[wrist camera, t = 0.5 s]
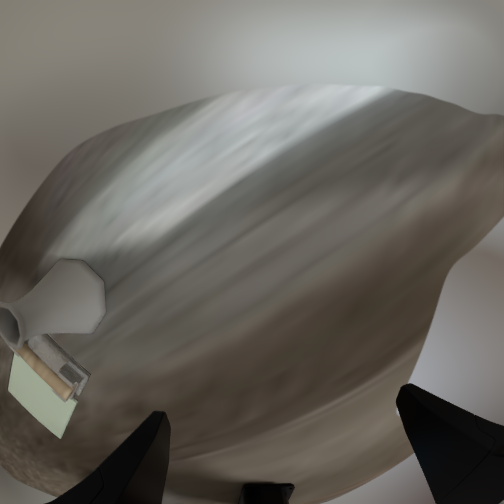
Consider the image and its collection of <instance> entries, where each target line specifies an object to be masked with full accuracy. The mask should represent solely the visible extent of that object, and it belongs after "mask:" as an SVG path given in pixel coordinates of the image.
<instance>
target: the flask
mask: <svg viewBox="0 0 504 504" xmlns="http://www.w3.org/2000/svg"><path fill="white" fill-rule="evenodd" d="M105 313H106V306H105V290H104V281H103V280H102V279H101V278H100V277H99V276H98V275H97V274H96V273H95V272H94V271H93V270H92V269H91V268H90V267H89V266H88V265H87V264H86V263H85V262H84V261H82V260H68V259H60V260H59V261H58V262H57V263H56V264H55V265H54V266H53V267H52V268H51V269H50V270H49V272H48V273H47V274H46V275H45V276H44V277H43V278H42V279H41V280H40V281H39V282H38V284H37V285H36V286H35V287H34V288H33V289H32V290H31V291H30V292H29V293H27V294H26V295H24V296H23V297H22V298H20V299H19V300H17V301H15V302H12V303H6V302H0V336H1V337H2V338H3V340H4V341H5V342H6V344H7V345H8V346H10V347H13V348H15V349H18V350H20V349H21V348H22V347H23V344H24V341H26V340H28V339H30V338H32V337H34V336H38V335H43V334H47V333H81V334H93V333H94V331H95V330H96V328H97V326H98V325H99V323H100V322H101V320H102V318H103V317H104V315H105Z"/></svg>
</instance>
